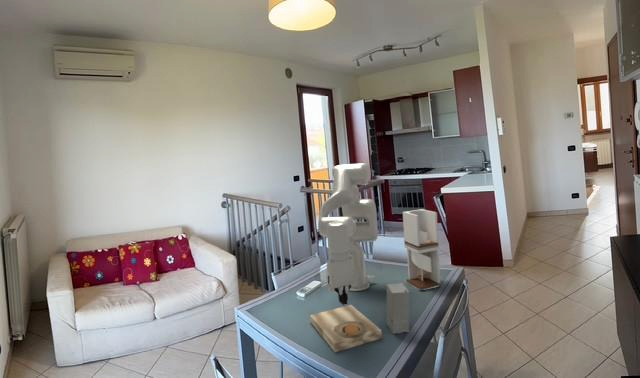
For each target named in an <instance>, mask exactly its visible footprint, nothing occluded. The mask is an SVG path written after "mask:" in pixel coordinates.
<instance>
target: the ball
mask: <svg viewBox="0 0 640 378" xmlns="http://www.w3.org/2000/svg"><path fill="white" fill-rule="evenodd" d="M358 331H359V329H358V327H357V326H356V325H354V324H349V325H347V327H346V328H345V333H346V334H354V333H357V332H358Z"/></svg>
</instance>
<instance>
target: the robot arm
mask: <svg viewBox="0 0 640 378" xmlns="http://www.w3.org/2000/svg"><path fill="white" fill-rule="evenodd" d="M371 171H372V170H371V167H370V165H369V163H367V162H361V163H360V162H359V163H345V164H338V165H335V166H333V167H332V170H331V175H332V178H333V180H332V181H333V182H332V193H331V195H330V196H329V197H328V198H327V199H326V200H325V201H324V202H323V204H322V206H321V207H320V210H319V213H318V222H317V231H318V233H319V235H320V236H321V237H324V238H327V244H328V256H329V257H328V258H329V259H327V261H326V270H325V271H326V272H325V273H326V284H327V285H328V288H327V289H328V291H329V292H336V293H337V297H338V302H339V303H340V304H341V305H342V306H346V305H347V304H348V300H349V297H348V294H349V291H351V292H361V291H364V290H365V291H366V289H369V287H370V281H374V280H375V279H376V277H375V275H369V274H367V275H366V259H365V252H364V248H363V246H362V245H361V244H360V243H371V242H372V243H373V242H376V241H377V239H378V237H379V235H378V234H379V232H378V231H379V229H378V216H377V215H378V214H377V207H376V203H375V201H374V200H373V199H371V198H360V191H359V190H360V189H359V187H358V186H357V185H359V186H360V185H367V184H368V182H369V180H370V179H371V173H372V172H371ZM340 208H341V213H342V216H329V215H330V214H331V213H332V212H334V211H337V209H340ZM355 220H357V221H355ZM358 220H366V221H358Z"/></svg>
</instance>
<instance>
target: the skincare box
mask: <svg viewBox="0 0 640 378" xmlns="http://www.w3.org/2000/svg"><path fill="white" fill-rule="evenodd" d="M385 286H386V321H385V322H386V324H387V327H388V328H389V330H390V332H391V334H392V335H395V334H396V333H397V334H403V333H402V332H407V333H409V332H410V291H409V289H408V288H407V286H405V285H404V283H402V282H400V283H399V282H398V283H387V284H386V285H385ZM408 331H409V332H408Z"/></svg>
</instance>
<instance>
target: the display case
mask: <svg viewBox="0 0 640 378" xmlns="http://www.w3.org/2000/svg"><path fill="white" fill-rule="evenodd" d="M402 222H403V224H402V225H403V239H404V248H405V249H406V253H407V255H406V256H407V272H408V276H407V277H408V278H407V279H406V284H407V283H408V284H410V285H412V286H414V287H416V288H417V289H419V290H424V289H427V288H431V287H434V286H438V285H440V286H441V274H440V273H441V272H440V253H439V251H440V250H439V247H440V246H439V229H438V228H439V227H438V212H436V211H432V210H427V209H424V208H421V209H414V210H413V209H412V210H407V211H402ZM408 284H407V285H408ZM410 285H409V286H410ZM412 286H411V287H412ZM417 289H416V290H417Z"/></svg>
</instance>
